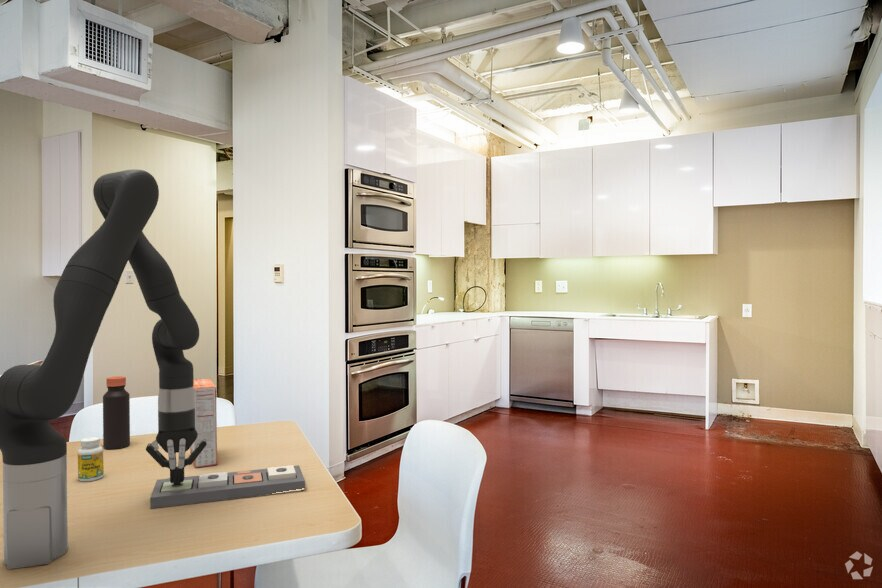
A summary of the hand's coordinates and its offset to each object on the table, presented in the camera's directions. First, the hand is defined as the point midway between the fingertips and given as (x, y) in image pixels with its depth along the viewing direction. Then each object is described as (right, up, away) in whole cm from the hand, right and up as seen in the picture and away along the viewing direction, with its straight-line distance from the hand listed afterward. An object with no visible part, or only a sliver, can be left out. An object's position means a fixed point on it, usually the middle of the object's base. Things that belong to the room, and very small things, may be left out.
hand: (177, 484), depth 132 cm
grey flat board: (+11, -3, +4) cm, 11 cm away
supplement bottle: (-26, -3, +12) cm, 29 cm away
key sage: (0, -2, 0) cm, 2 cm away
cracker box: (-5, -2, +27) cm, 27 cm away
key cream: (+21, -1, +7) cm, 23 cm away
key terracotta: (+14, -2, +5) cm, 15 cm away
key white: (+7, -1, +2) cm, 7 cm away
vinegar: (-35, -2, +39) cm, 53 cm away
